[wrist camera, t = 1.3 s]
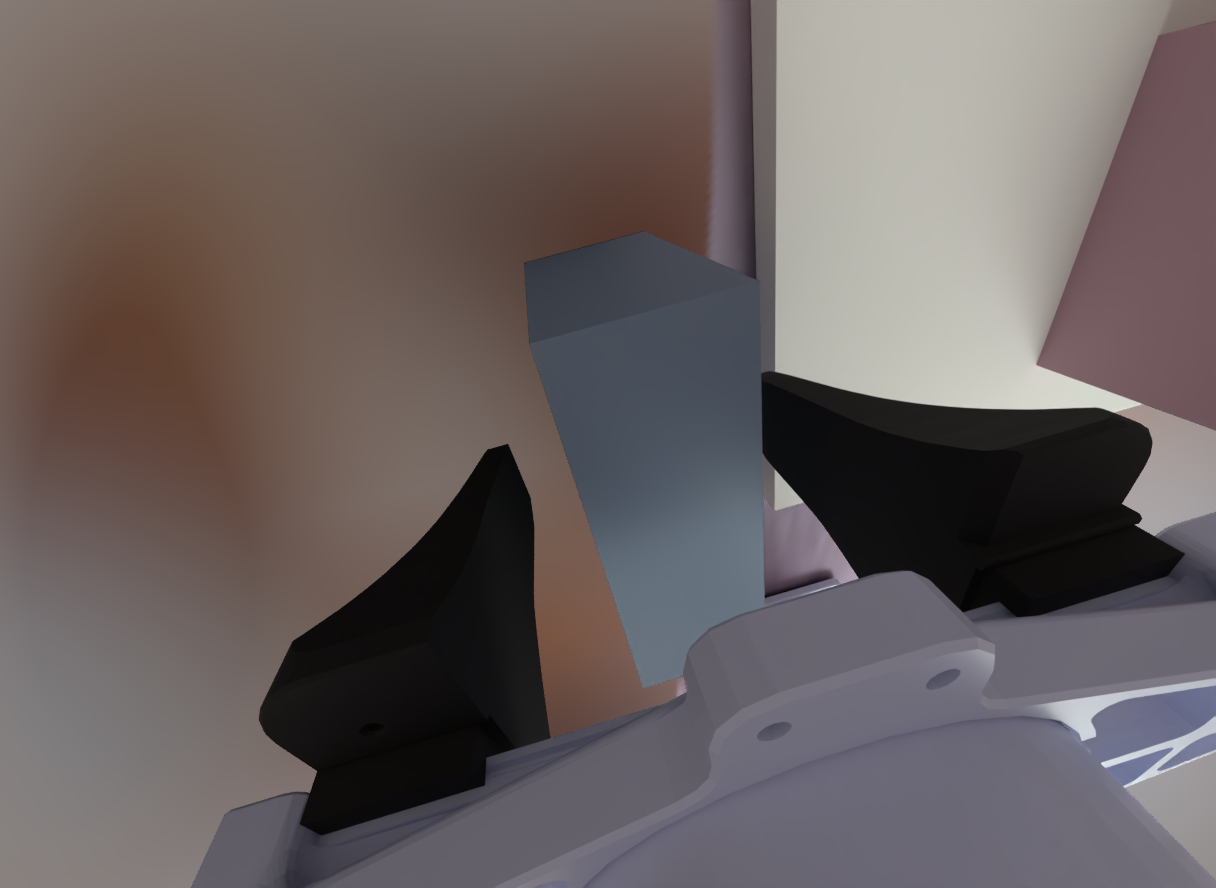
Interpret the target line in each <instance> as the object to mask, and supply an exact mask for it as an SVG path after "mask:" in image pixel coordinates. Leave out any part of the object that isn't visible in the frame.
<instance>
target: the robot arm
mask: <svg viewBox="0 0 1216 888" xmlns="http://www.w3.org/2000/svg"><path fill="white" fill-rule="evenodd" d="M761 394H762V453H763V455H764V456H765V458H766V459H767V461H768V462H769V463H770V464H771V465H772V467H773V468H774V469H775V470H776V471H777V472H778V474H779V475H780V476H781V477H782V478H783V479H784V480H785V482H786V483H787V484H788V485H789V486H790V487H791V488H792V489H793V491H794V492H795V493H796V494H797V495H798V496H799V497H800V498H801V500H802V501H803V502H804V503H805V504H806V505H807V506H808V507H809V509H810V510H811V511H812V512H813V513H814V515H815V516H816V517H817V518H818V519H819V521H820V522H821V523H822V525H823V526H824V527H825V529H826V530H827V532H828V533H829V535H830V536H831V537H832V539H833V540H834V542H835V543H836V545H837V546H838V547H839V549H840V550H841V552H842V553H843V555H844V556H845V558H846V560H847V561H848V563H849V564H850V566H851V567H852V569H853V570H854V572H855V573H856V575H857V576H858V578H859V579H857V580H853V581H850V582H847V583H843V584H840V583H839V581H838V580H837V579H828V580H825V581H821V582H818V583H814V584H811V585H808V586H804V587H801V588H798V589H794V590H791V591H788V592H784V593H781V594H777V595H774V596H771V597H767V598H765V607H763V608H760V609H756V610H753V611H750V612H746V613H743V614H740V615H737V616H735V617H733V618H730V619H728V620H726V621H724V622H722V623H720V624H718V625H716V626H713V627H711V628H709V629H708V630H707V631H706V632H705V633H704V634H703V635H702V636H701V637H700V638H699V639H698V640H697V641H696V642H695V643H694V644H693V645H692V646H691V647H690V649H689V651H688V652H687V657H686V661H685V665H684V669H683V675H684V680H685V684H686V689H687V692H686V693H684V694H682V695H680V696H678V697H676V698H674V699H672V700H670V701H669V702H667V703H665V704H661V705H658V706H655V707H652V708H648V709H645V710H642V711H638V712H635V713H632V714H628V715H625V716H622V717H619V718H615V719H612V720H609V721H605V722H602V723H599V724H596V725H592V726H589V727H586V728H582V729H580V730H576V731H573V732H570V733H566V734H563V735H559V736H557V737H553V738H550V732H549V725H548V719H547V712H546V705H545V697H544V690H543V682H542V674H541V666H540V657H539V649H538V640H537V631H536V620H535V610H534V521H533V512H532V505H531V498H530V495H529V493H528V491H527V488H526V486H525V483H524V481H523V479H522V476H521V474H520V471H519V469H518V466H517V464H516V462H515V459H514V457H513V455H512V452H511V450H510V447H509V445H508V444H506V445H503V446H499V447H495V448H492V449H488V450H487V451H486V452H485V454H484V455H483V457H482V458H481V460H480V461H479V463H478V465H477V466H476V467H475V469H474V471H473V472H472V474H471V475H470V477H469V478H468V480H467V481H466V483H465V484H464V486H463V487H462V489H461V490H460V492H459V493H458V494H457V496H456V497H455V498H454V500H453V501H452V502H451V503H450V505H449V506H448V507H447V509H446V510H445V512H444V513H443V514H442V515H441V517H440V518H439V519H438V520H437V522H436V523H435V524H434V525H433V526H432V527H431V528H430V530H429V531H428V532H427V533H426V534H425V535H424V536H423V537H422V538H421V539H420V540H419V542H418V543H417V544H416V545H415V546H414V547H413V548H412V549H411V550H410V551H409V552H408V553H406V554H405V555H404V556H403V557H402V558H401V559H400V560H399V561H398V562H397V563H396V564H395V565H394V566H392V567H391V568H390V569H389V570H388V571H387V572H386V573H385V574H384V575H382V577H380V578H379V579H378V580H377V581H375V582H374V583H373V584H372V585H370V586H369V587H368V588H367V589H366V590H364V591H363V592H362V593H360V594H359V595H358V596H357V597H355V598H354V599H353V600H351V601H350V602H349V603H347V604H346V605H345V606H343V607H342V608H341V609H339V610H338V611H337V612H335V613H334V614H332V615H331V616H329V617H328V618H326V619H325V620H323V621H322V622H321V623H319V624H318V625H316V626H315V627H313V628H312V629H310V630H309V631H307V632H306V633H305V634H303V635H301V636H300V637H298V638H297V639H295V640H294V641H293V642H292V644H291V646H290V648H289V650H288V652H287V654H286V656H285V658H284V660H283V662H282V664H281V666H280V668H279V670H278V672H277V675H276V677H275V679H274V681H273V683H272V685H271V687H270V689H269V691H268V693H267V695H266V697H265V699H264V701H263V704H262V706H261V708H260V714H259V721H260V724H261V726H262V728H263V730H264V732H265V734H266V735H267V736H268V737H269V738H270V739H272V740H273V741H274V742H275V743H276V744H277V745H279V746H280V747H282V748H283V749H285V750H287V751H288V752H289V753H291V754H292V755H294V756H295V757H297V758H299V759H300V760H301V761H303V762H305V763H306V764H308V765H309V766H311V767H312V768H313V769H315V770H317V774H316V777H315V780H314V783H313V786H312V789H311V792H310V793H308V792H290V793H285V794H281V795H278V796H275V797H271V798H268V799H265V800H261V801H258V802H255V803H251V804H248V805H245V806H241V807H238V808H235V809H232V810H230V811H229V812H227V813H226V814H224V816H223V819H222V821H221V823H220V825H219V827H218V830H217V832H216V834H215V836H214V839H213V841H212V843H211V845H210V847H209V849H208V851H207V854H206V856H205V858H204V860H203V862H202V864H201V867H200V869H199V871H198V873H197V875H196V878H195V880H194V882H193V884H192V886H191V888H1216V880H1215V879H1214V878H1213V877H1212V876H1211V875H1210V874H1209V873H1208V872H1207V871H1206V870H1205V869H1204V868H1203V867H1202V866H1201V865H1200V864H1199V863H1198V861H1197V860H1196V859H1195V858H1194V857H1193V856H1191V854H1189V852H1187V850H1186V849H1185V848H1184V847H1183V846H1182V845H1181V844H1180V843H1179V842H1178V841H1177V840H1176V839H1175V838H1174V837H1173V836H1172V835H1171V834H1170V833H1169V832H1168V831H1167V830H1166V829H1165V828H1164V827H1163V826H1162V825H1161V824H1160V823H1159V822H1158V821H1157V820H1156V819H1155V818H1154V817H1153V816H1152V815H1151V814H1150V813H1149V812H1148V811H1147V810H1146V809H1145V808H1144V807H1143V806H1142V805H1141V804H1140V803H1139V802H1138V801H1137V800H1136V799H1135V798H1134V797H1133V796H1132V795H1131V794H1130V793H1129V792H1128V791H1127V790H1126V789H1125V787H1128V786H1130V785H1133V784H1135V783H1138V782H1140V781H1143V780H1145V779H1148V778H1150V777H1153V776H1156V775H1158V774H1161V773H1163V772H1166V771H1168V770H1171V769H1173V768H1176V767H1178V766H1181V765H1183V764H1186V763H1188V762H1191V761H1193V760H1196V759H1199V758H1201V757H1204V756H1206V755H1209V754H1212V753H1214V752H1216V512H1214V513H1210V514H1207V515H1204V516H1201V517H1197V518H1194V519H1191V520H1187V521H1184V522H1181V523H1177V524H1175V525H1172V526H1170V527H1167V528H1165V529H1164V530H1162V531H1161V532H1160V533H1158V534H1157V535H1156V536H1153V535H1151V534H1149V533H1147V532H1145V531H1144V530H1142V529H1140V528H1139V527H1137V526H1135V524H1138V523H1139V522H1140V521H1141V520H1142V517H1141V515H1140V514H1139V513H1137V512H1136V511H1134V510H1132V509H1130V508H1128V507H1126V506H1125V505H1123V504H1122V502H1123V501H1124V499H1125V497H1126V496H1127V495H1128V493H1129V491H1130V490H1131V488H1132V486H1133V485H1134V483H1135V482H1136V480H1137V478H1138V476H1139V475H1140V473H1141V472H1142V470H1143V468H1144V467H1145V465H1146V463H1147V461H1148V459H1149V457H1150V454H1151V448H1152V438H1151V435H1150V432H1149V429H1148V428H1146V427H1145V426H1143V425H1142V424H1140V423H1138V422H1136V421H1133V420H1131V419H1128V418H1126V417H1123V416H1121V415H1118V414H1116V413H1113V412H1111V411H1108V410H1105V409H1102V408H1097V407H1092V408H1061V409H982V408H963V407H950V406H938V405H928V404H919V403H912V402H905V401H898V400H891V399H885V398H880V397H875V396H870V395H865V394H861V393H856V392H852V391H848V390H843V389H839V388H835V387H832V386H828V385H824V384H820V383H817V382H813V381H809V380H806V379H802V378H799V377H795V376H791V375H787V374H783V373H779V372H773V371H767V372H763V373H761Z"/></svg>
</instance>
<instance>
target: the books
mask: <svg viewBox="0 0 1216 888" xmlns="http://www.w3.org/2000/svg"><path fill="white" fill-rule="evenodd" d="M1037 366H1040V367H1042V368H1045V369H1048V370H1051V371H1053V372H1056V373H1059V374H1062V375H1064V376H1067V377H1070V378H1073V379H1075V380H1078V381H1081V382H1084V383H1086V384H1089V385H1092V386H1095V387H1097V388H1100V389H1103V390H1106V391H1108V392H1111V393H1114V394H1117V395H1119V396H1122V397H1125V398H1128V399H1130V400H1133V401H1136V402H1139V403H1141V404H1144V405H1147V406H1150V407H1152V408H1155V409H1158V410H1161V411H1163V412H1166V413H1169V414H1172V415H1174V416H1177V417H1180V418H1183V419H1186V420H1188V421H1191V422H1194V423H1197V424H1199V425H1202V426H1205V427H1208V428H1210V429H1213V430H1216V21H1212V22H1208V23H1204V24H1200V25H1196V26H1193V27H1189V28H1185V29H1181V30H1177V31H1173V32H1170V33H1166V34H1162V35H1158V38H1157V41H1156V43H1155V46H1154V49H1153V52H1152V54H1151V57H1150V60H1149V62H1148V65H1147V68H1146V70H1145V73H1144V76H1143V79H1142V81H1141V84H1140V87H1139V89H1138V92H1137V95H1136V97H1135V100H1134V103H1133V105H1132V108H1131V111H1130V114H1129V116H1128V119H1127V122H1126V124H1125V127H1124V130H1123V132H1122V135H1121V138H1120V141H1119V143H1118V146H1117V149H1116V151H1115V154H1114V157H1113V159H1112V162H1111V165H1110V168H1109V170H1108V173H1107V176H1106V178H1105V181H1104V184H1103V186H1102V189H1101V192H1100V195H1099V197H1098V200H1097V203H1096V205H1095V208H1094V211H1093V213H1092V216H1091V219H1090V222H1089V224H1088V227H1087V230H1086V232H1085V235H1084V238H1083V240H1082V243H1081V246H1080V249H1079V251H1078V254H1077V257H1076V259H1075V262H1074V265H1073V267H1072V270H1071V273H1070V276H1069V278H1068V281H1067V284H1066V286H1065V289H1064V292H1063V294H1062V297H1061V300H1060V303H1059V305H1058V308H1057V311H1056V313H1055V316H1054V319H1053V321H1052V324H1051V327H1050V330H1049V332H1048V335H1047V338H1046V340H1045V343H1044V346H1043V348H1042V351H1041V354H1040V357H1039V359H1038V362H1037Z"/></svg>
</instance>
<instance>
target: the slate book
mask: <svg viewBox="0 0 1216 888" xmlns="http://www.w3.org/2000/svg"><path fill="white" fill-rule="evenodd" d="M524 269H525V286H526V300H527V316H528V331H529V344H530V347H531V350H532V353H533V356H534V359H535V362H536V365H537V368H538V372H539V375H540V377H541V381H542V384H543V387H544V390H545V393H546V396H547V399H548V402H549V405H550V408H551V410H552V414H553V417H554V420H555V423H556V426H557V429H558V432H559V435H560V438H561V441H562V444H563V447H564V450H565V453H566V456H567V459H568V462H569V465H570V468H571V471H572V474H573V477H574V480H575V483H576V486H577V489H578V492H579V495H580V499H581V502H582V505H583V508H584V510H585V514H586V517H587V520H588V523H589V526H590V529H591V532H592V535H593V538H594V541H595V544H596V546H597V550H598V553H599V556H600V559H601V562H602V565H603V568H604V571H605V574H606V577H607V580H608V583H609V586H610V589H611V592H612V595H613V598H614V601H615V604H616V607H617V610H618V613H619V616H620V619H621V623H622V625H623V629H624V631H625V634H626V638H627V641H628V644H629V647H630V650H631V652H632V656H633V659H634V662H635V665H636V668H637V671H638V674H639V677H640V680H641V683H642V686H643V688H645V687H649V686H652V685H656V684H659V683H662V682H665V681H669V680H672V679H676V678H679V677H682V676H684V675H683V669H684V665H685V661H686V657H687V652H688V651H689V649H690V647H691V646H692V645H693V644H694V643H695V642H696V641H697V640H698V639H699V638H700V637H701V636H702V635H703V634H704V633H705V632H706V631H707V630H708V629H709V628H711V627H713V626H716V625H718V624H720V623H722V622H724V621H726V620H728V619H730V618H733V617H735V616H737V615H740V614H743V613H746V612H750V611H753V610H756V609H760V608H763V607H765V593H764V526H763V460H762V394H761V328H760V281H758V280H756V279H754V278H751V277H749V276H747V275H744V274H742V273H740V272H737V271H735V270H733V269H730V268H728V267H726V266H724V265H721V264H719V263H717V262H714V261H712V260H710V259H707V258H705V257H703V256H700V255H698V254H696V253H693V252H691V251H689V250H686V249H684V248H682V247H679V246H677V245H675V244H673V243H670V242H668V241H666V240H663V239H661V238H659V237H656V236H654V235H652V234H649V233H647V232H645V231H642V232H638V233H634V234H630V235H627V236H623V237H619V238H615V239H612V240H608V241H604V242H600V243H597V244H593V245H589V246H585V247H582V248H578V249H574V250H570V251H566V252H563V253H559V254H555V255H552V256H548V257H544V258H540V259H536V260H533V261H529V262H525V263H524Z"/></svg>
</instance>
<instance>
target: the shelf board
mask: <svg viewBox="0 0 1216 888" xmlns="http://www.w3.org/2000/svg"><path fill="white" fill-rule="evenodd" d="M1212 21H1216V0H751V42H752V92H753V143H754V193H755V243H756V280H758V281H760V328H761V373H763V372H767V371H773V372H779V373H783V374H787V375H791V376H795V377H799V378H802V379H806V380H809V381H813V382H817V383H820V384H824V385H828V386H832V387H835V388H839V389H843V390H848V391H852V392H856V393H861V394H865V395H870V396H875V397H880V398H885V399H891V400H898V401H905V402H912V403H919V404H928V405H938V406H950V407H963V408H982V409H1061V408H1092V407H1097V408H1102V409H1105V410H1108V411H1111V412H1113V413H1114V412H1117V411H1121V410H1124V409H1128V408H1131V407H1134V406H1138V405H1141V403H1139V402H1136V401H1133V400H1130V399H1128V398H1125V397H1122V396H1119V395H1117V394H1114V393H1111V392H1108V391H1106V390H1103V389H1100V388H1097V387H1095V386H1092V385H1089V384H1086V383H1084V382H1081V381H1078V380H1075V379H1073V378H1070V377H1067V376H1064V375H1062V374H1059V373H1056V372H1053V371H1051V370H1048V369H1045V368H1042V367H1040V366H1037V362H1038V359H1039V357H1040V354H1041V351H1042V348H1043V346H1044V343H1045V340H1046V338H1047V335H1048V332H1049V330H1050V327H1051V324H1052V321H1053V319H1054V316H1055V313H1056V311H1057V308H1058V305H1059V303H1060V300H1061V297H1062V294H1063V292H1064V289H1065V286H1066V284H1067V281H1068V278H1069V276H1070V273H1071V270H1072V267H1073V265H1074V262H1075V259H1076V257H1077V254H1078V251H1079V249H1080V246H1081V243H1082V240H1083V238H1084V235H1085V232H1086V230H1087V227H1088V224H1089V222H1090V219H1091V216H1092V213H1093V211H1094V208H1095V205H1096V203H1097V200H1098V197H1099V195H1100V192H1101V189H1102V186H1103V184H1104V181H1105V178H1106V176H1107V173H1108V170H1109V168H1110V165H1111V162H1112V159H1113V157H1114V154H1115V151H1116V149H1117V146H1118V143H1119V141H1120V138H1121V135H1122V132H1123V130H1124V127H1125V124H1126V122H1127V119H1128V116H1129V114H1130V111H1131V108H1132V105H1133V103H1134V100H1135V97H1136V95H1137V92H1138V89H1139V87H1140V84H1141V81H1142V79H1143V76H1144V73H1145V70H1146V68H1147V65H1148V62H1149V60H1150V57H1151V54H1152V52H1153V49H1154V46H1155V43H1156V41H1157V38H1158V35H1162V34H1166V33H1170V32H1173V31H1177V30H1181V29H1185V28H1189V27H1193V26H1196V25H1200V24H1204V23H1208V22H1212ZM762 460H763V497H764V498H765V499H766V500H767V502H768V503H769V504H770V506H771V507H772V508H773V510H774V511H776V510H780V509H783V508H787V507H790V506H793V505H797V504H800V503H804V502H803V501H802V500H801V498H800V497H799V496H798V495H797V494H796V493H795V492H794V491H793V489H792V488H791V487H790V486H789V485H788V484H787V483H786V482H785V480H784V479H783V478H782V477H781V476H780V475H779V474H778V472H777V471H776V470H775V469H774V468H773V467H772V465H771V464H770V463H769V462H768V461H767V459H766V458H765V456H764V455H763V453H762Z"/></svg>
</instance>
